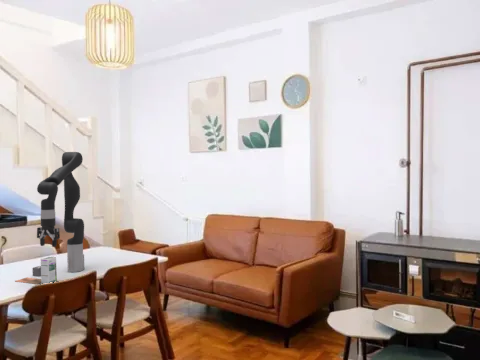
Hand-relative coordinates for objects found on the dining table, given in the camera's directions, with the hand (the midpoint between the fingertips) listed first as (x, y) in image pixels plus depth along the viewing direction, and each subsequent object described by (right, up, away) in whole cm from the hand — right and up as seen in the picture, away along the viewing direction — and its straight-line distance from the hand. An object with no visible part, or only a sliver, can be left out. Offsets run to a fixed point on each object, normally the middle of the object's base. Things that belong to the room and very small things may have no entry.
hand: (48, 246), depth 222 cm
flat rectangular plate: (-8, -21, +3) cm, 23 cm away
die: (-14, -21, +17) cm, 30 cm away
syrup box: (0, -21, +1) cm, 21 cm away
